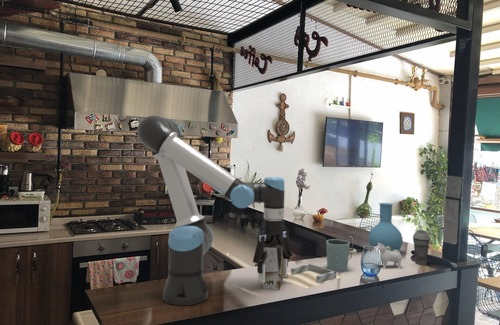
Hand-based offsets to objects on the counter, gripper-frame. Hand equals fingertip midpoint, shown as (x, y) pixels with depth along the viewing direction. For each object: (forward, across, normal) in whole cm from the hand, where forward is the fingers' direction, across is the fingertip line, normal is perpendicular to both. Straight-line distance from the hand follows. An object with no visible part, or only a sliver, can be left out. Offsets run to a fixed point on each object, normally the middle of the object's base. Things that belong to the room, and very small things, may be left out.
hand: (273, 278), depth 144 cm
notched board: (+3, +18, -1) cm, 18 cm away
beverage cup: (+4, +76, -19) cm, 78 cm away
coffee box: (+4, 0, 0) cm, 4 cm away
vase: (+4, +83, +3) cm, 83 cm away
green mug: (+4, +39, 0) cm, 39 cm away
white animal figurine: (+4, +59, -12) cm, 60 cm away
